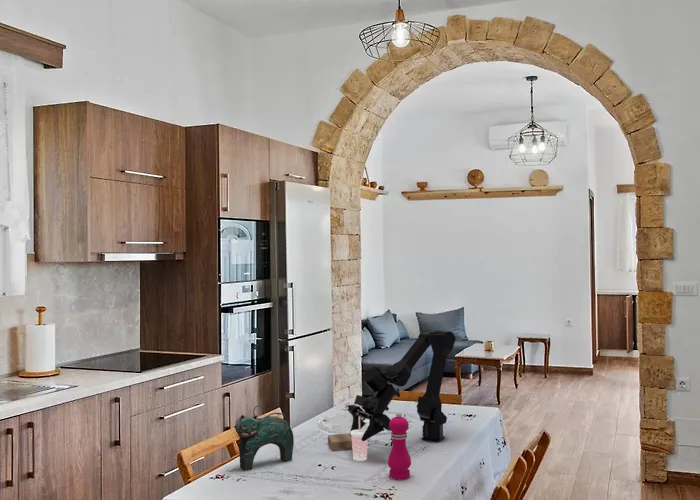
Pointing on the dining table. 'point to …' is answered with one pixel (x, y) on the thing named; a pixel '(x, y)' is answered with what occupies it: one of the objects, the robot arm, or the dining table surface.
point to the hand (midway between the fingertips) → (356, 438)
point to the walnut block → (340, 442)
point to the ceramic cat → (263, 437)
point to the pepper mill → (399, 448)
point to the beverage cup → (359, 444)
